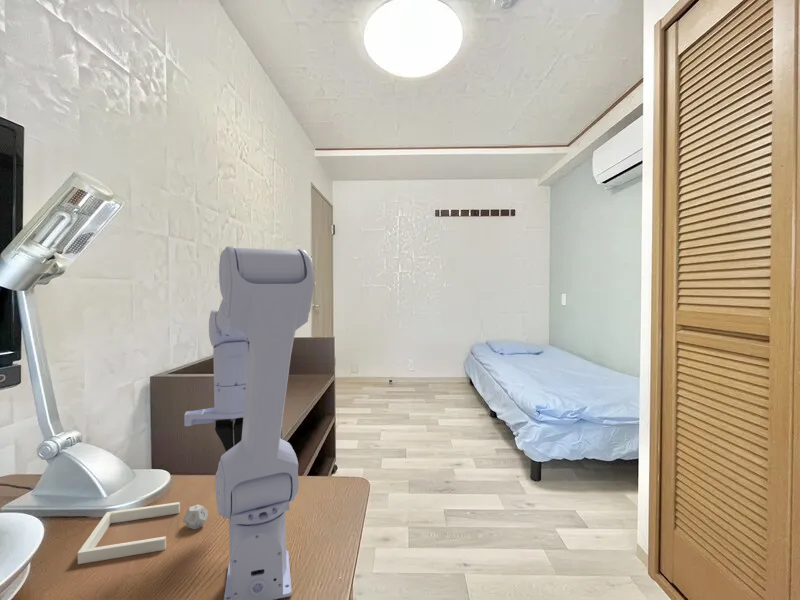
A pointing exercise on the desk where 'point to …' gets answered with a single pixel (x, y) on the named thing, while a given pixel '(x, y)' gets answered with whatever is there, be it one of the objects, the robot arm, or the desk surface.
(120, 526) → the desk surface
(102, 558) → the bay
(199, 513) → the game die
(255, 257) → the robot arm
